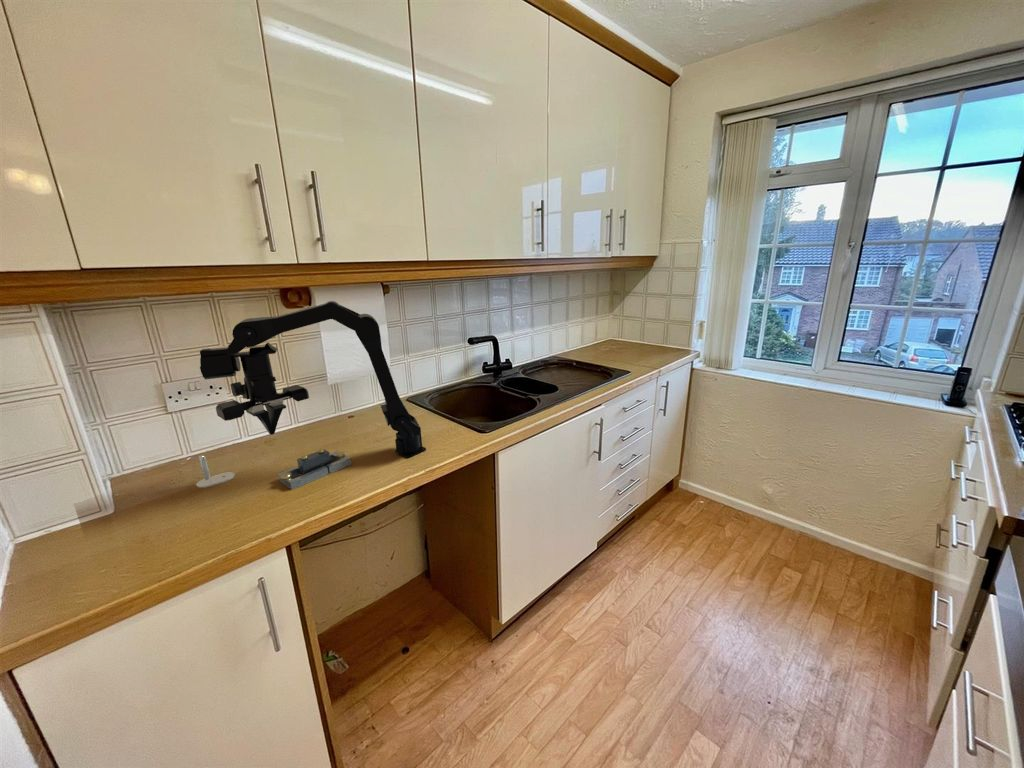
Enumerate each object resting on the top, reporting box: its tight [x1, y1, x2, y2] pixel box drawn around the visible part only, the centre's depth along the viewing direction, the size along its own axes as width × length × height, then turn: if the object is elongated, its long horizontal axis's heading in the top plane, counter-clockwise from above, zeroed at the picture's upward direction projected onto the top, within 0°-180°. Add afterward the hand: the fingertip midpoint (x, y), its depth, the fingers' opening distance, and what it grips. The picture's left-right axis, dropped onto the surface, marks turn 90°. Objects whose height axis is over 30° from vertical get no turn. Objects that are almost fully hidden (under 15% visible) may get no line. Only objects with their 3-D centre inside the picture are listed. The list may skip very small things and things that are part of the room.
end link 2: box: [327, 450, 352, 474], centre depth 110 cm, size 6×7×3 cm
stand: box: [196, 455, 236, 489], centre depth 103 cm, size 8×5×8 cm
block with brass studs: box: [296, 448, 332, 476], centre depth 106 cm, size 7×3×6 cm, turn 140°
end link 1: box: [277, 465, 329, 490], centre depth 104 cm, size 10×7×3 cm
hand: (271, 434), depth 102 cm, fingers closed
